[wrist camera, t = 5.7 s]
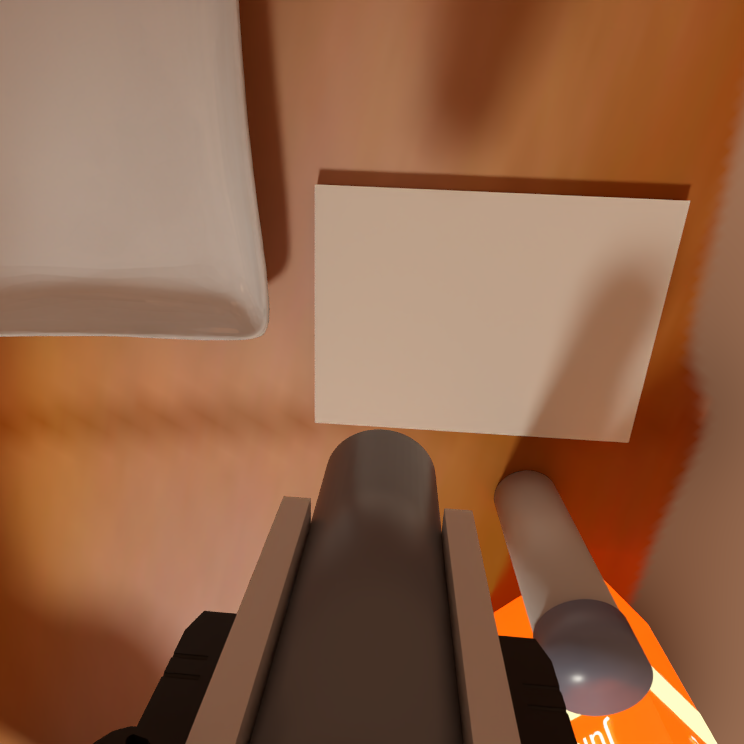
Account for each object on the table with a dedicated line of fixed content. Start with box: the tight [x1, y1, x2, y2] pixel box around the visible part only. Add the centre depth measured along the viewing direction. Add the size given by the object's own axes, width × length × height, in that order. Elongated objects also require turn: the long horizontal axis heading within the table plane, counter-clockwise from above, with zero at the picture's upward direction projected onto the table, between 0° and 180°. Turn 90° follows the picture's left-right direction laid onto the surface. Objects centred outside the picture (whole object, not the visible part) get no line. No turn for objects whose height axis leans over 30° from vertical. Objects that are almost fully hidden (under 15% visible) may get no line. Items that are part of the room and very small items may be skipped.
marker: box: [249, 430, 463, 744], centre depth 11 cm, size 4×4×12 cm
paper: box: [315, 184, 690, 443], centre depth 26 cm, size 18×13×1 cm
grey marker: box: [494, 470, 653, 716], centre depth 24 cm, size 4×4×12 cm
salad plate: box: [0, 0, 269, 340], centre depth 23 cm, size 21×21×3 cm
